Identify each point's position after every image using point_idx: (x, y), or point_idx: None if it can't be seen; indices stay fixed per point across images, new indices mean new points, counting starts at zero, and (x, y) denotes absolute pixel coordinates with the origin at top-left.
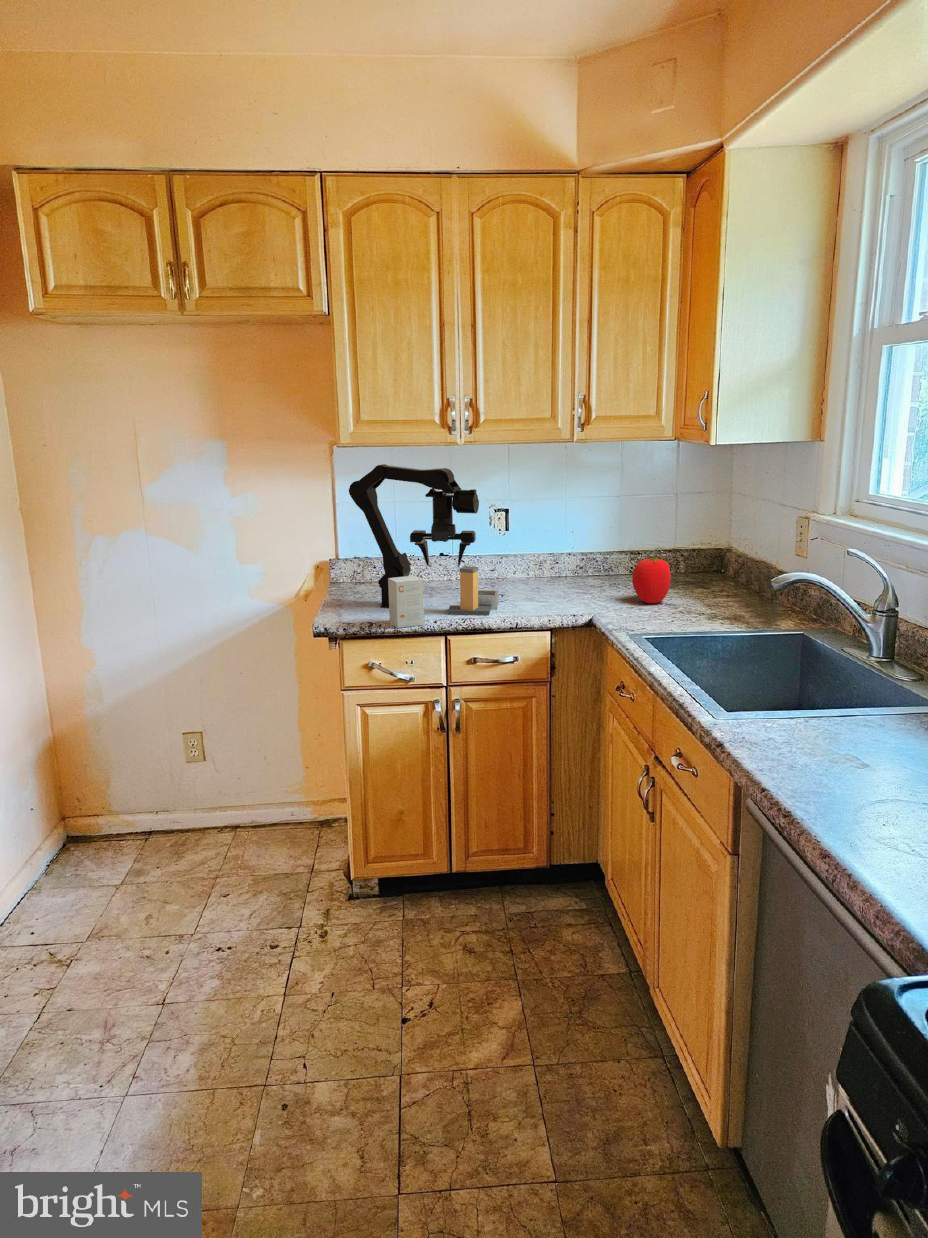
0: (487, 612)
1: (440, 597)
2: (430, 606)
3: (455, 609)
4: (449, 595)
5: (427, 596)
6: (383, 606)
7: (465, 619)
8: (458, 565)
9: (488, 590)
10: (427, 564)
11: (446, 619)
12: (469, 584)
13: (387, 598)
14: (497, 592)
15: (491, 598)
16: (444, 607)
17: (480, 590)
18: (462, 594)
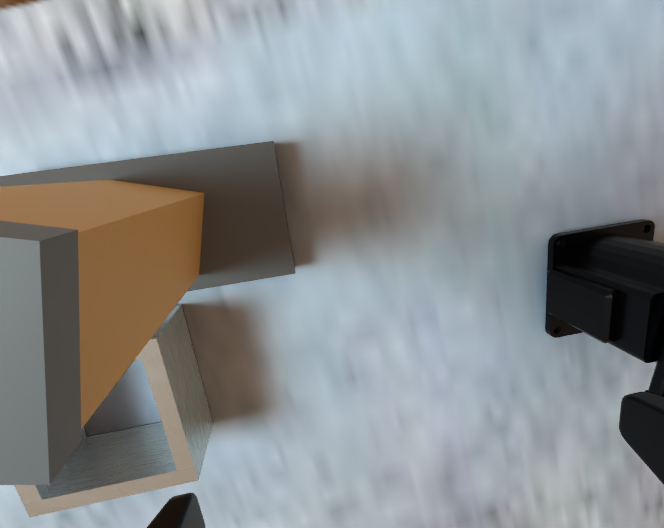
0: (9, 175)
1: (404, 473)
2: (412, 302)
3: (232, 178)
4: (372, 516)
5: (465, 472)
6: (636, 221)
7: (122, 36)
8: (184, 494)
9: (98, 499)
10: (649, 399)
11: (244, 14)
12: (20, 197)
13: (657, 242)
14: None
15: None
16: (336, 299)
17: (151, 485)
18: (156, 197)
